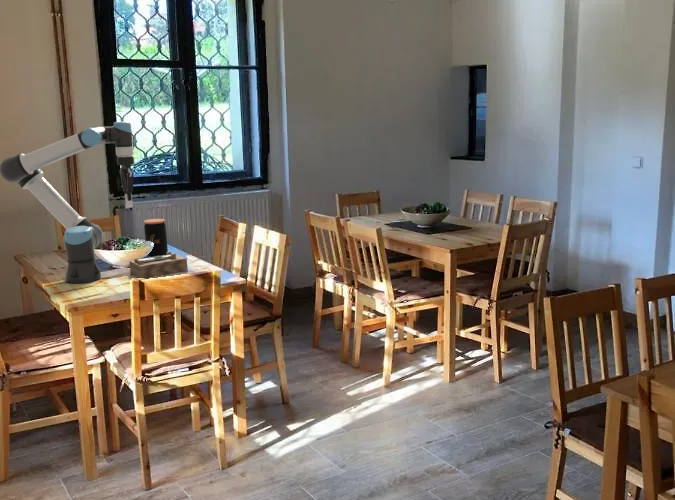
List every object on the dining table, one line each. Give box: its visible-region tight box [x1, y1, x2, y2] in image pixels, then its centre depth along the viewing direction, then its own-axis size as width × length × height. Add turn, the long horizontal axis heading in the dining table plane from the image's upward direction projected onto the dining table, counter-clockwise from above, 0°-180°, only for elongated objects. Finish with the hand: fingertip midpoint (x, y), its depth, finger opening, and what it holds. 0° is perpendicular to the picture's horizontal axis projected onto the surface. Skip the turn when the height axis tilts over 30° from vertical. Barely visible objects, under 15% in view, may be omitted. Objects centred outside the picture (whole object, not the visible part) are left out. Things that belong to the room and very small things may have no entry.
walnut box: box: [129, 251, 188, 279], centre depth 328 cm, size 22×14×8 cm, turn 126°
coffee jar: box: [143, 218, 169, 258], centre depth 364 cm, size 11×11×18 cm
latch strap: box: [136, 253, 172, 262], centre depth 326 cm, size 17×3×2 cm, turn 126°
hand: (129, 207), depth 329 cm, fingers closed
